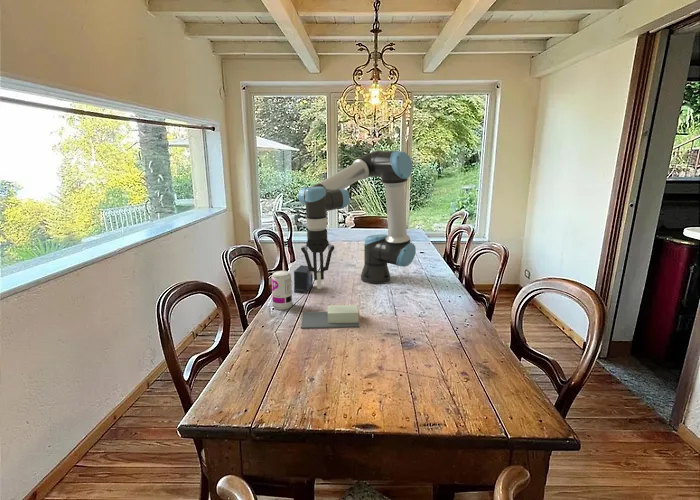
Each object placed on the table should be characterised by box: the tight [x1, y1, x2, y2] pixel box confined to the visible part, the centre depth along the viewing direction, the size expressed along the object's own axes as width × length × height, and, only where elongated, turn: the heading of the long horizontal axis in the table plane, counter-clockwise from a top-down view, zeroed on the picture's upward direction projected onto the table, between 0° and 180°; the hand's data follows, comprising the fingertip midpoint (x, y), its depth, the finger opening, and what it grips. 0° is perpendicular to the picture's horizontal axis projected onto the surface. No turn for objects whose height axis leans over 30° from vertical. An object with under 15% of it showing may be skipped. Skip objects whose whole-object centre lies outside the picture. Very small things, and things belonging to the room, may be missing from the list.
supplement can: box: [271, 270, 293, 311], centre depth 170 cm, size 8×8×15 cm
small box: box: [293, 264, 314, 294], centre depth 191 cm, size 11×6×10 cm, turn 168°
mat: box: [300, 311, 360, 330], centre depth 158 cm, size 22×14×1 cm, turn 94°
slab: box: [327, 304, 360, 323], centre depth 158 cm, size 4×8×12 cm
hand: (319, 287), depth 158 cm, fingers closed
